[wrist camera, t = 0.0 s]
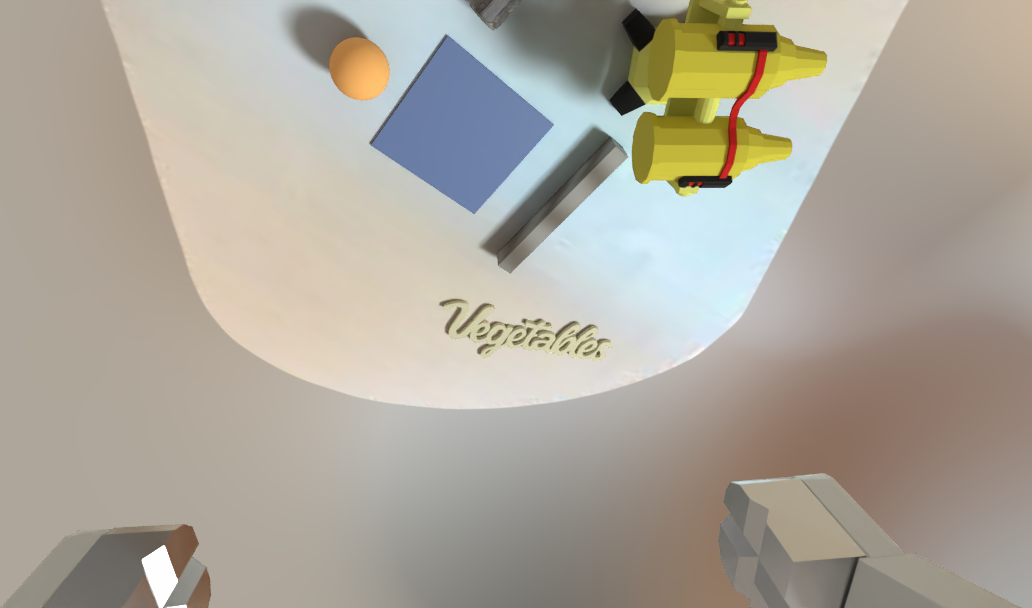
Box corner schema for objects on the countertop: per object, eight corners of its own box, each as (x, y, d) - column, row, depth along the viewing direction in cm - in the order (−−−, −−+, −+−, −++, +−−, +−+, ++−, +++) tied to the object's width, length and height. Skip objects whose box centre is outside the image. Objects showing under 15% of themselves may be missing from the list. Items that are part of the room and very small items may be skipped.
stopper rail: (610, 136, 59) (615, 146, 58) (622, 147, 60) (628, 157, 59) (497, 253, 69) (498, 265, 67) (508, 261, 70) (510, 273, 68)
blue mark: (447, 35, 51) (447, 36, 51) (553, 124, 58) (553, 125, 58) (371, 144, 58) (371, 145, 58) (474, 213, 64) (474, 214, 64)
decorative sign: (431, 350, 78) (445, 299, 72) (431, 345, 79) (445, 294, 73) (595, 374, 85) (621, 329, 79) (594, 369, 86) (620, 325, 80)
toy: (722, 141, 61) (783, 209, 50) (603, 141, 60) (637, 211, 49) (775, -30, 50) (868, 7, 39) (630, -35, 49) (683, 2, 38)
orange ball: (352, 17, 50) (343, 33, 46) (402, 56, 52) (398, 74, 48) (324, 64, 52) (313, 83, 48) (373, 99, 55) (366, 120, 51)
